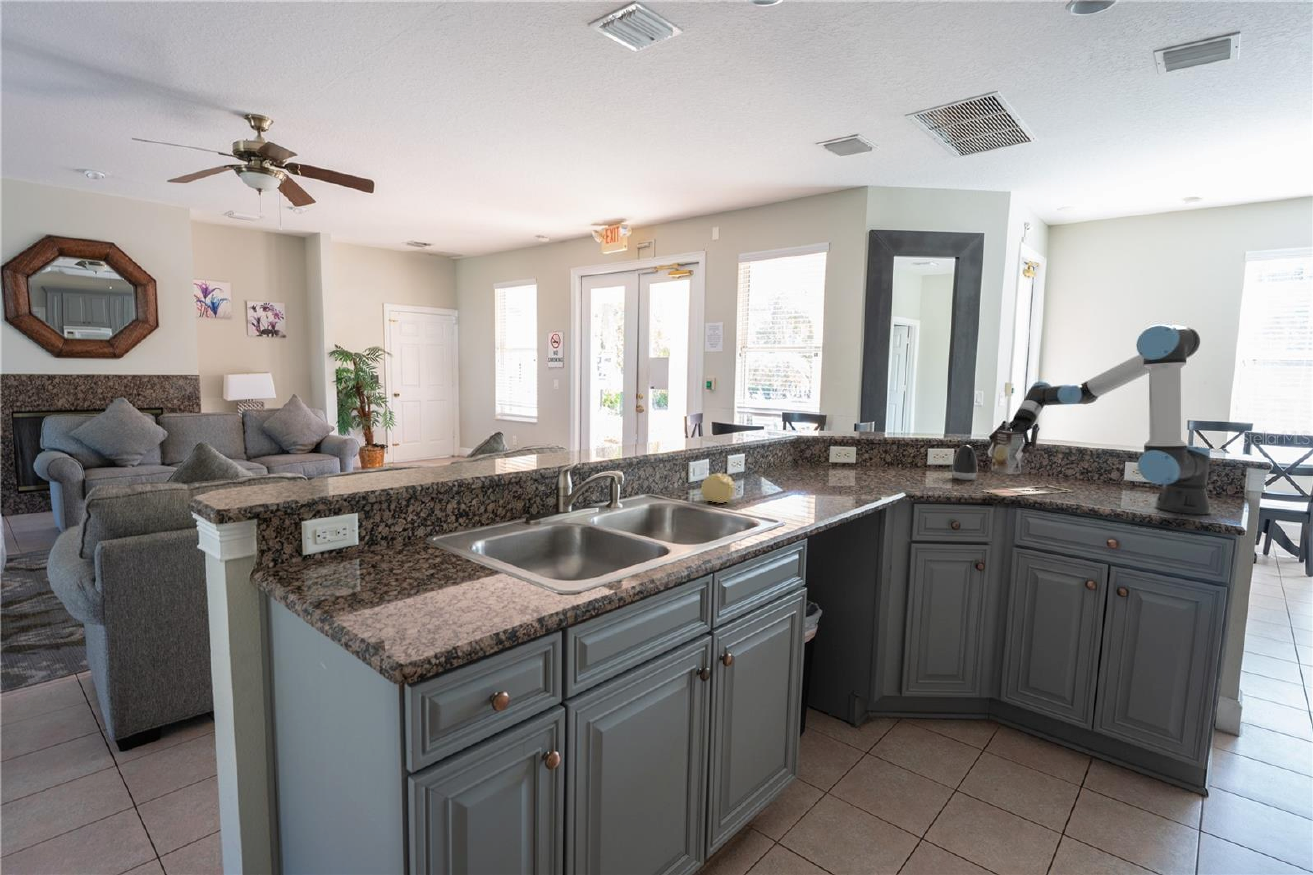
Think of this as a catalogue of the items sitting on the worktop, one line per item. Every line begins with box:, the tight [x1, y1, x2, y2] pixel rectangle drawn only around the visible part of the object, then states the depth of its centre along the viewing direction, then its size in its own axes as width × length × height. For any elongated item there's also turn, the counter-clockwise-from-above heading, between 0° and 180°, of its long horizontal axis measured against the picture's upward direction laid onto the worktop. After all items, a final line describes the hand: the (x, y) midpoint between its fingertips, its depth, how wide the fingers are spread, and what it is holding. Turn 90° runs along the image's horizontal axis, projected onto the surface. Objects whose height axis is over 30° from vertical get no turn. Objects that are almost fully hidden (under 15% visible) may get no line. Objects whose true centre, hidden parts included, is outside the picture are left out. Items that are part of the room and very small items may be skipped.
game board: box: [981, 485, 1074, 498], centre depth 261 cm, size 12×35×1 cm, turn 109°
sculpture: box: [700, 472, 736, 504], centre depth 236 cm, size 12×12×11 cm
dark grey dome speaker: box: [951, 444, 979, 481], centre depth 287 cm, size 10×10×15 cm
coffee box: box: [990, 430, 1024, 475], centre depth 256 cm, size 9×6×16 cm
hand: (1003, 456), depth 255 cm, fingers closed on coffee box, 10 cm apart
